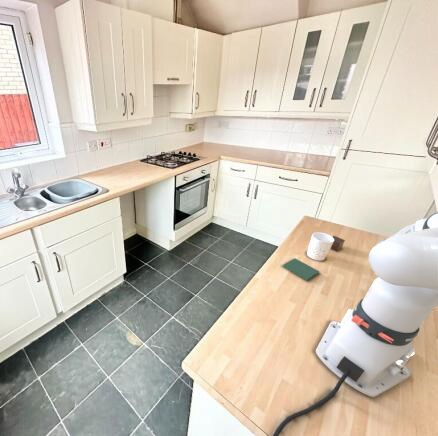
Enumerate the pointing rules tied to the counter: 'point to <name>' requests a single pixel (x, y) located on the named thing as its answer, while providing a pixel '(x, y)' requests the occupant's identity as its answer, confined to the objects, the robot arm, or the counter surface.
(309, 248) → the white cup
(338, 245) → the walnut block
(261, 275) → the counter surface
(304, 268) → the flat green block
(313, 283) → the counter surface
